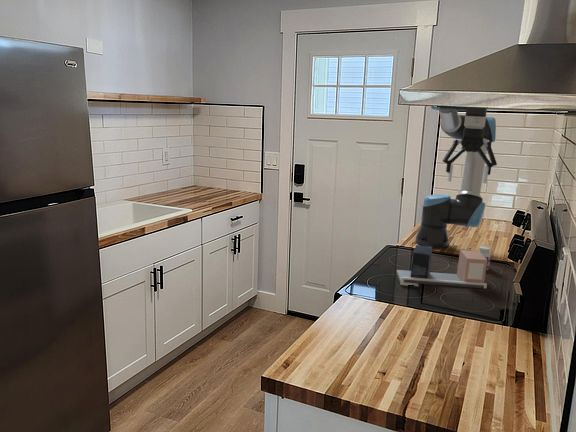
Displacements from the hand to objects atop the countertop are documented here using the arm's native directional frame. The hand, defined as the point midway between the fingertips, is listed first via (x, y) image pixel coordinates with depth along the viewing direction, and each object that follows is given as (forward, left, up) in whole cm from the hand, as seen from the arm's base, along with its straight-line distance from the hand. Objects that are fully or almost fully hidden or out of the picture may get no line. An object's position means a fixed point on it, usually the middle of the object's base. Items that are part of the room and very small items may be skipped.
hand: (466, 182), depth 191 cm
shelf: (+21, -11, -35) cm, 42 cm away
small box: (+20, -18, -34) cm, 43 cm away
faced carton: (+21, 0, -34) cm, 40 cm away
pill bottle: (+5, +9, -35) cm, 36 cm away
